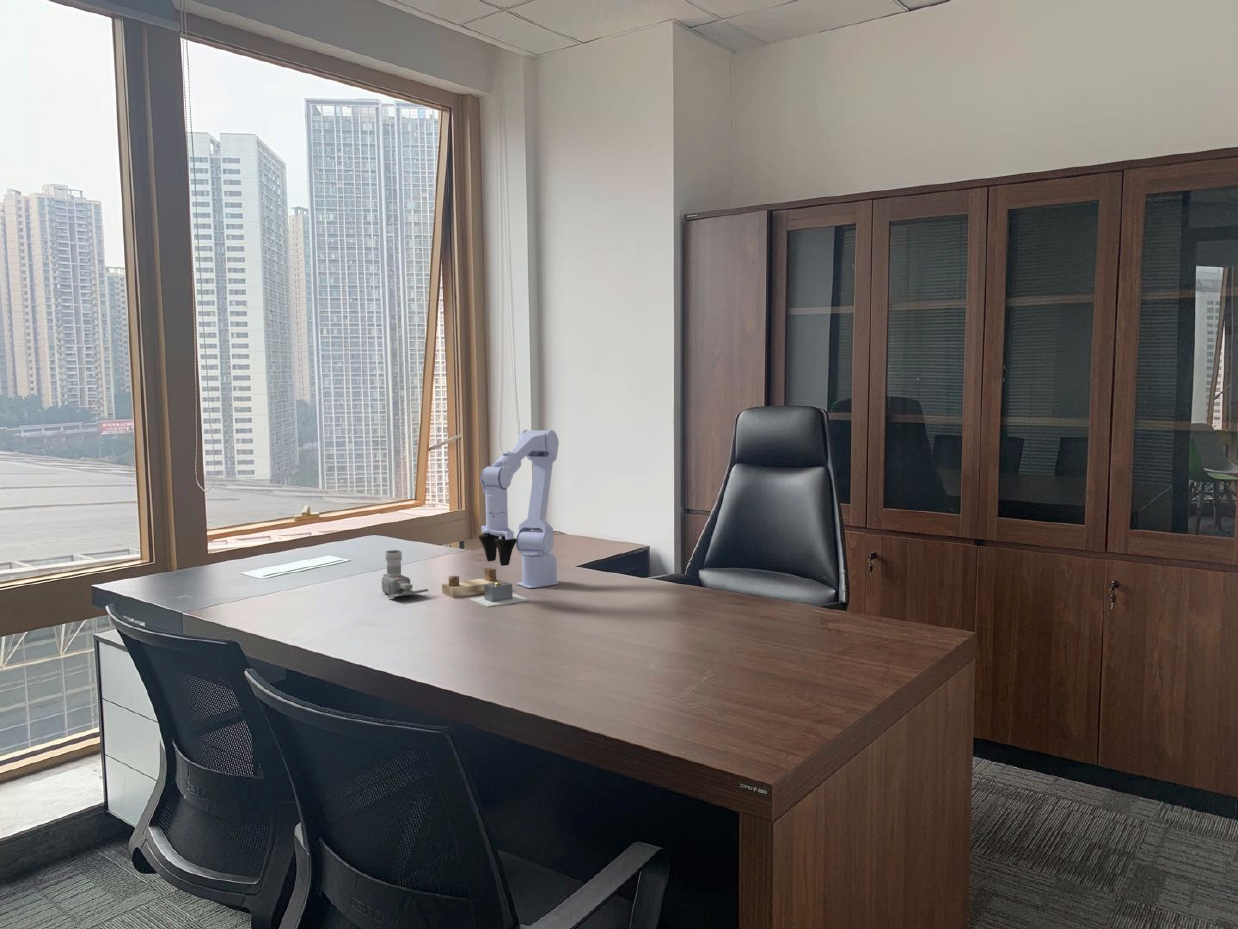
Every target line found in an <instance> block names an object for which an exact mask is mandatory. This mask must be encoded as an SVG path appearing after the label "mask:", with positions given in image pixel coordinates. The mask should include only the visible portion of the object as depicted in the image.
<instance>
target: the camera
mask: <svg viewBox="0 0 1238 929" xmlns="http://www.w3.org/2000/svg"><path fill="white" fill-rule="evenodd" d="M402 555H403V553H402V550H400V549H394V550H393V549H391V550H387V551H385V561H386V573H385V574H383V575H382V579H381V590H382V592H383V594H386V595H388V597H387V598H388V599H392V598H399V597H404V596H405V595H406V596H411V595H416V594H422V593H427V592H429V591H430V590H429V589H428V588H425V589H420V590H413V583H412V584H411V579H410V578H409V577H407V576H405V575H402V560H403V559H402V558H403V556H402ZM406 596H405V597H406Z"/></svg>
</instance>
